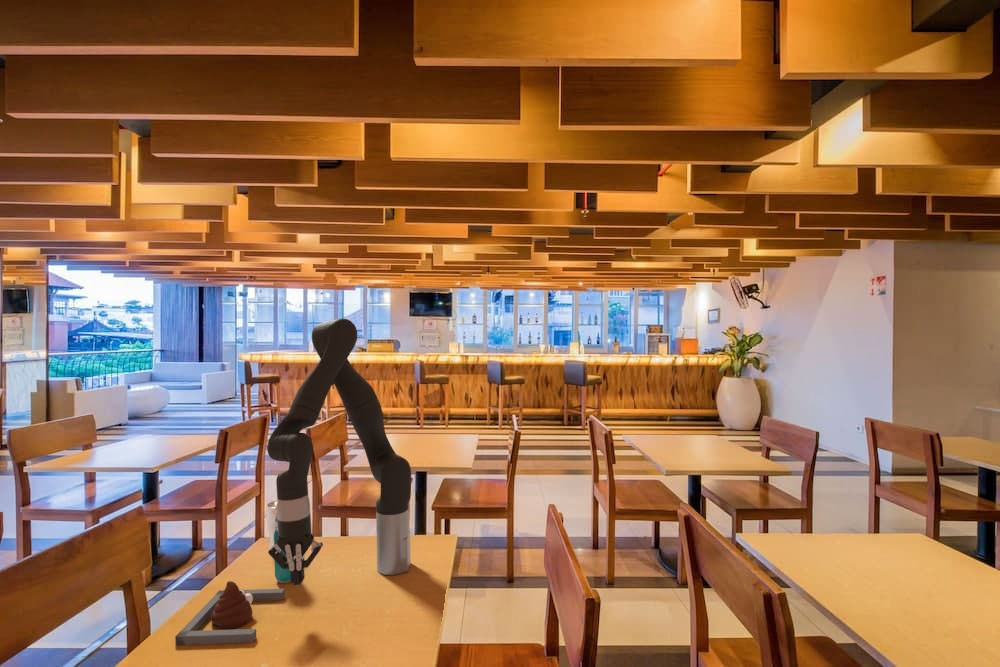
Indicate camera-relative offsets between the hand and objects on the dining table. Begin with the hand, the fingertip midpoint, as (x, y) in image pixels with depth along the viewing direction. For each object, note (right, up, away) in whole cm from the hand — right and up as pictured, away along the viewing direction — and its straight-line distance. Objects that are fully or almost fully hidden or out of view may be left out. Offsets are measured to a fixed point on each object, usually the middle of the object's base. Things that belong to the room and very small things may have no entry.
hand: (297, 583), depth 129 cm
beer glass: (-20, -8, +38) cm, 44 cm away
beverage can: (-11, -8, +19) cm, 23 cm away
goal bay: (-15, -9, 0) cm, 17 cm away
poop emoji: (-16, -9, 0) cm, 18 cm away
